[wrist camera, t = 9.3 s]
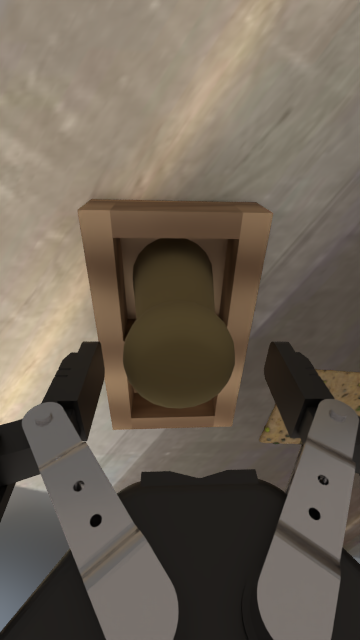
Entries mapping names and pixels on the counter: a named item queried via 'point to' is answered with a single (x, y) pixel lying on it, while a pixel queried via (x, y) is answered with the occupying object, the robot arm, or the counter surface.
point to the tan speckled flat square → (343, 387)
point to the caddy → (119, 303)
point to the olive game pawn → (176, 327)
